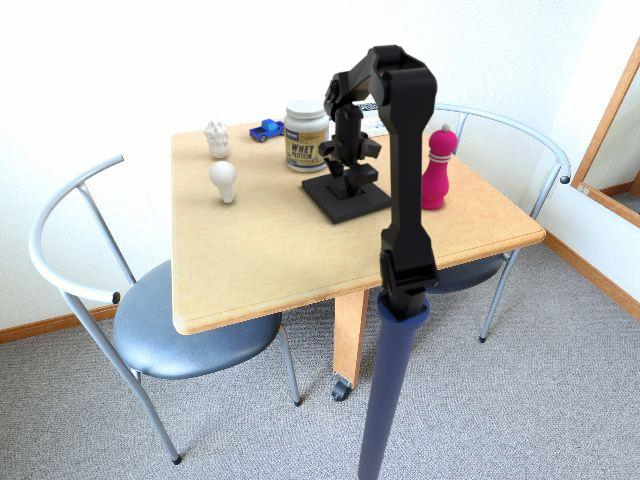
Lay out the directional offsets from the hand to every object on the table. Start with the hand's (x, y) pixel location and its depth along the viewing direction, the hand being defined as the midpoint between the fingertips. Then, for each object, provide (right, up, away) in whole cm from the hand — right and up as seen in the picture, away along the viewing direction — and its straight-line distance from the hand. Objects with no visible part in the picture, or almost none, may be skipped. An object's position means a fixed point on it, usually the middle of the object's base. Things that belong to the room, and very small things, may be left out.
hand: (345, 191), depth 92 cm
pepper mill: (+21, -3, -1) cm, 21 cm away
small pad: (0, -1, +1) cm, 1 cm away
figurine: (-36, +13, +18) cm, 42 cm away
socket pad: (0, -1, +1) cm, 1 cm away
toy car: (-23, +22, +29) cm, 43 cm away
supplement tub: (-10, +10, +14) cm, 20 cm away
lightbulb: (-29, -3, -1) cm, 29 cm away
